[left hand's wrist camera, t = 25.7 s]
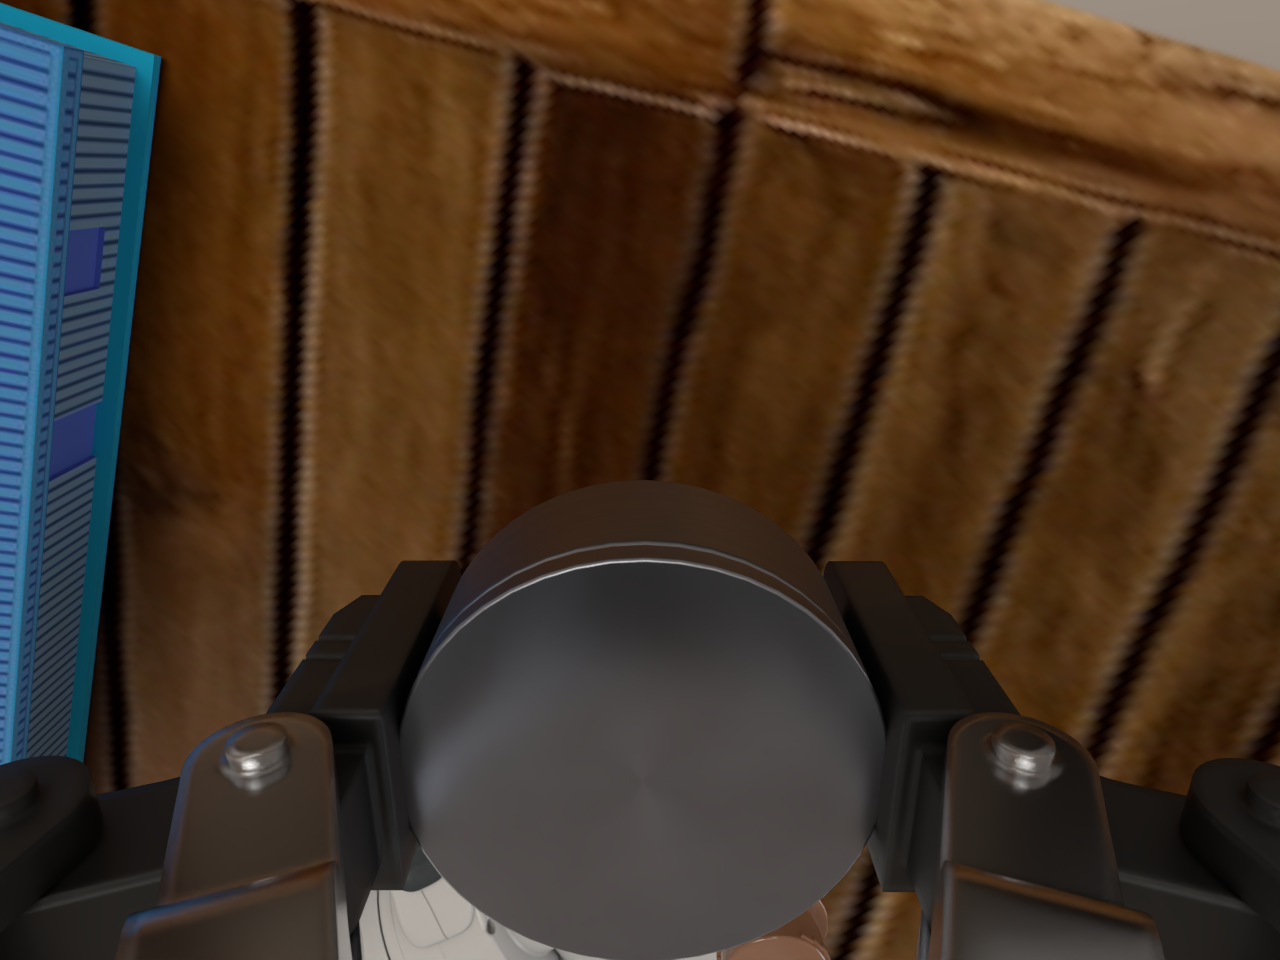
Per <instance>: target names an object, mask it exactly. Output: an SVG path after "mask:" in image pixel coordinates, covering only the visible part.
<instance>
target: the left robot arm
mask: <svg viewBox="0 0 1280 960" xmlns="http://www.w3.org/2000/svg"><path fill="white" fill-rule="evenodd" d="M823 578H824V579H825V581H826V583H827V586H828V588H829V590H830V592H831V594H832V597H833V599H834V601H835V603H836V606H837V608H838V610H839V612H840V614H841V617H842V619H843V621H844V623H845V626H846V628H847V630H848V632H849V634H850V637H851V639H852V641H853V643H854V646H855V648H856V650H857V652H858V655H859V657H860V659H861V661H862V663H863V666H864V668H865V670H866V672H867V675H868V677H869V679H870V681H871V683H872V686H873V688H874V690H875V692H876V695H877V697H878V699H879V701H880V705H881V709H882V712H883V716H884V720H885V723H886V728H887V735H886V746H885V755H884V763H883V771H882V779H881V787H880V795H879V803H878V811H877V818H876V825H875V828H874V830H873V833H872V835H871V836H870V838H869V840H868V842H867V846H868V849H869V852H870V855H871V858H872V861H873V864H874V867H875V870H876V873H877V876H878V879H879V882H880V885H881V888H882V891H883V892H916V894H917V897H918V900H919V902H920V905H921V908H922V911H921V917H920V924H919V930H918V937H917V946H916V958H915V960H1280V766H1276V765H1273V764H1269V763H1265V762H1261V761H1256V760H1249V759H1241V758H1223V759H1215V760H1211V761H1208V762H1206V763H1204V764H1202V765H1200V766H1199V767H1198V768H1197V769H1196V770H1195V772H1194V774H1193V776H1192V780H1191V783H1190V787H1189V790H1188V794H1187V796H1185V795H1181V794H1176V793H1171V792H1166V791H1161V790H1157V789H1152V788H1147V787H1142V786H1138V785H1133V784H1128V783H1123V782H1119V781H1116V780H1112V779H1108V778H1105V777H1102V776H1099V772H1098V768H1097V765H1096V763H1095V761H1094V759H1093V758H1092V756H1091V755H1090V753H1089V752H1088V751H1087V750H1086V749H1085V748H1084V747H1083V746H1082V745H1081V744H1080V743H1079V742H1078V741H1076V740H1075V739H1074V738H1072V737H1071V736H1069V735H1068V734H1066V733H1065V732H1063V731H1061V730H1059V729H1057V728H1056V727H1054V726H1051V725H1049V724H1047V723H1044V722H1042V721H1039V720H1036V719H1033V718H1030V717H1026V716H1022V715H1020V714H1019V712H1018V711H1017V709H1016V708H1015V706H1014V705H1013V704H1012V702H1011V701H1010V699H1009V698H1008V696H1007V695H1006V693H1005V692H1004V691H1003V689H1002V688H1001V686H1000V685H999V683H998V682H997V680H996V679H995V678H994V676H993V675H992V673H991V672H990V670H989V669H988V667H987V666H986V665H985V663H984V662H983V661H980V660H979V655H978V653H977V652H976V650H975V649H974V647H973V646H972V644H971V643H970V642H967V640H966V638H967V637H966V636H965V634H964V633H963V631H962V630H961V629H960V627H959V626H958V624H957V623H956V621H955V620H954V618H953V617H952V616H951V615H950V614H949V613H947V612H946V611H944V610H943V609H941V608H940V607H938V606H937V605H935V604H934V603H932V602H931V601H929V600H928V599H926V598H925V597H923V596H904V594H903V593H902V591H901V589H900V588H899V586H898V584H897V583H896V581H895V580H894V578H893V576H892V575H891V573H890V571H889V570H888V568H887V567H886V565H885V564H884V563H883V562H882V561H829V562H828V563H827V564H826V567H825V571H824V576H823ZM460 579H461V573H460V568H459V565H458V563H457V562H456V561H402V562H401V563H400V564H399V565H398V567H397V569H396V570H395V572H394V574H393V575H392V577H391V579H390V580H389V582H388V584H387V585H386V587H385V589H384V590H383V592H382V594H381V595H362V596H360V597H359V598H357V599H356V600H354V601H353V602H351V603H350V604H348V605H347V606H345V607H344V608H342V609H341V610H339V611H338V612H336V613H335V614H334V615H333V616H332V618H331V619H330V621H329V622H328V624H327V625H326V627H325V628H324V629H323V631H322V632H321V634H320V635H319V641H315V643H314V644H313V646H312V647H311V648H310V650H309V651H308V653H307V654H306V660H302V662H301V663H300V665H299V666H298V667H297V669H296V670H295V672H294V673H293V675H292V676H291V678H290V679H289V681H288V682H287V684H286V685H285V686H284V688H283V689H282V691H281V692H280V694H279V695H278V697H277V698H276V700H275V701H274V703H273V704H272V706H271V707H270V708H269V710H268V711H267V713H266V714H263V715H258V716H254V717H250V718H247V719H244V720H241V721H238V722H236V723H233V724H231V725H229V726H226V727H224V728H223V729H221V730H219V731H217V732H215V733H214V734H212V735H211V736H209V737H208V738H206V739H205V740H204V741H202V742H201V743H200V744H199V745H198V746H197V747H196V748H195V749H194V750H193V751H192V752H191V753H190V755H189V756H188V758H187V759H186V761H185V763H184V765H183V768H182V772H181V776H180V777H177V778H174V779H170V780H166V781H161V782H157V783H152V784H147V785H142V786H138V787H133V788H128V789H123V790H118V791H114V792H109V793H104V794H99V795H97V794H96V790H95V787H94V783H93V780H92V776H91V773H90V771H89V768H88V767H87V766H86V765H85V764H84V763H83V762H81V761H79V760H77V759H74V758H70V757H65V756H38V757H30V758H25V759H21V760H16V761H12V762H9V763H5V764H2V765H0V960H365V958H364V946H363V937H362V930H361V924H360V918H361V915H362V913H363V910H364V907H365V904H366V902H367V899H368V896H369V894H370V891H371V890H403V889H404V886H405V883H406V880H407V877H408V874H409V871H410V868H411V865H412V862H413V859H414V856H415V853H416V850H417V847H418V841H417V840H416V838H415V836H414V834H413V832H412V830H411V828H410V823H409V817H408V809H407V801H406V793H405V784H404V776H403V768H402V759H401V751H400V741H399V724H400V721H401V717H402V714H403V711H404V707H405V704H406V701H407V697H408V695H409V693H410V690H411V688H412V686H413V684H414V681H415V679H416V677H417V675H418V672H419V670H420V668H421V665H422V663H423V661H424V659H425V656H426V654H427V652H428V650H429V647H430V645H431V643H432V640H433V638H434V636H435V634H436V631H437V629H438V627H439V624H440V622H441V620H442V618H443V615H444V613H445V611H446V609H447V606H448V604H449V602H450V599H451V597H452V595H453V593H454V591H455V589H456V587H457V585H458V583H459V581H460Z"/></svg>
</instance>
